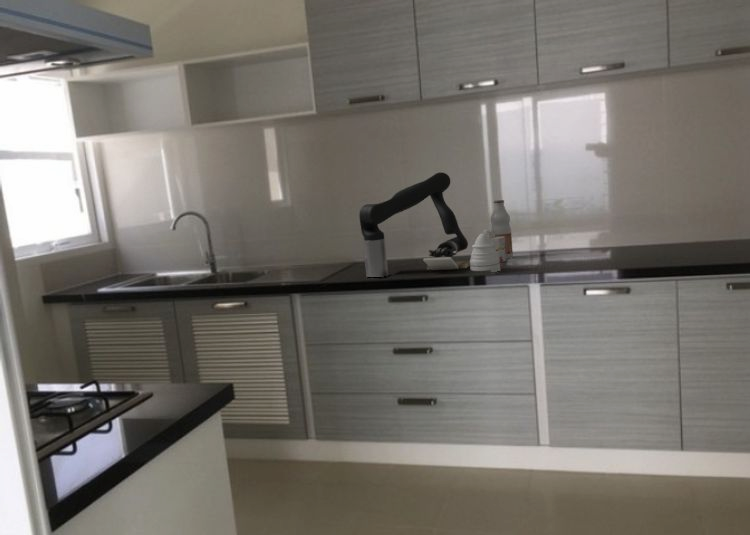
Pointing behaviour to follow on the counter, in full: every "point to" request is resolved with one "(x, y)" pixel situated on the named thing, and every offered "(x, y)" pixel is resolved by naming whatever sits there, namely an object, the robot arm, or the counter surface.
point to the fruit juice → (502, 226)
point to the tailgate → (441, 263)
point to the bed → (458, 264)
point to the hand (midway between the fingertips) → (437, 255)
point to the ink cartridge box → (498, 245)
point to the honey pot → (484, 254)
